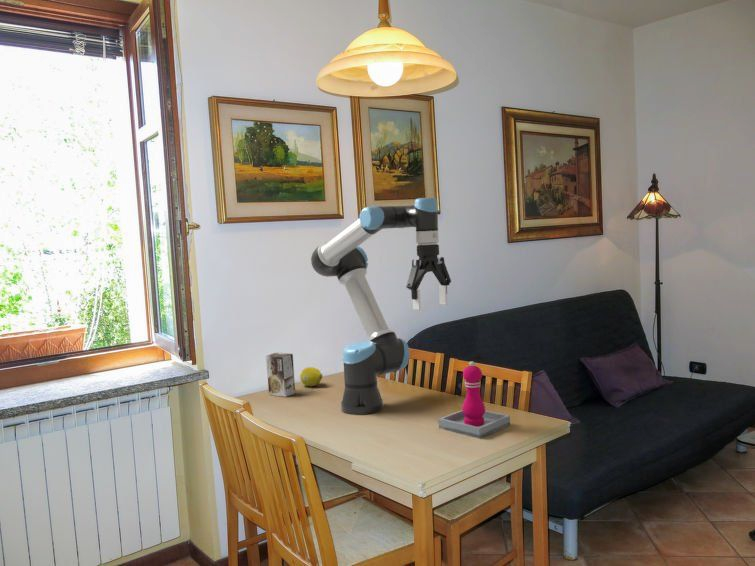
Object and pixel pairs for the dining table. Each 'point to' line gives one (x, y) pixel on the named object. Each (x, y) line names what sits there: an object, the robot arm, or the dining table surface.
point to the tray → (490, 425)
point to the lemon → (310, 376)
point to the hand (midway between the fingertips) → (430, 306)
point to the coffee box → (280, 374)
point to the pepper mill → (473, 396)
